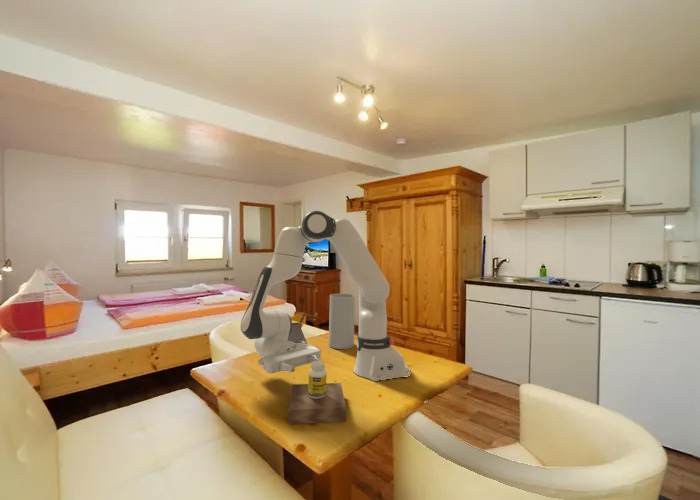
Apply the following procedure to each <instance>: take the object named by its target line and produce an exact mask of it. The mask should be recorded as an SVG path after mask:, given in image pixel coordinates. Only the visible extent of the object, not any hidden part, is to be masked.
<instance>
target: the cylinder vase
mask: <svg viewBox="0 0 700 500" xmlns="http://www.w3.org/2000/svg"><path fill="white" fill-rule="evenodd" d="M355 307H356V295H355V294H351V293H333V294H332V293H331V294H330V295H329V313H328V314H329V319H328V320H329V322H328V325H329V326H328V346H329V347H330V348H332V349H335V350H348V349H351V348H353V347H354V345H355V317H356V316H355V314H356V313H355V312H356V309H355Z"/></svg>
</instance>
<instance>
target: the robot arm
mask: <svg viewBox="0 0 700 500" xmlns="http://www.w3.org/2000/svg"><path fill="white" fill-rule="evenodd" d="M323 240H327V241H329V242H330V243H331V245H333V247H334V249H335V251H336V252H337V254H338V257H340V259H341V262H343V264H344V266H345V269H346V270H347V272H348V274H349V275H350V277H351V279H352V280H353V282H354V284H355V286H356V287H357V289H358V334H357V338H356V349H357V353H356V360H355V363H354V368H353V372H354V373H355V375H357V376H360V377H362V378H366V379H369V380H371V381H373V382H380V381H379V380H381V381H387V380H386V379H390V380H393V379H392V378H397V377H404V376H409V375H410V374H411V375H412V373H411V372H412V371H411V369H410V367H409V366H408V365H406V361H405V357H404V356H403V355H402V353H401V352H399V351H398V350H397V349H396V348H395V347H394V345H395V340H394V339H393V338H391V337H390V336H388V335H387V323H388V322H387V321H388V315H387V306H386V305H387V303H386V300H387V299H388V297H389V295H390V293H391V292H390V291H391V287H390V284H389V282H388V280H387V278H386V277H385V275H384V274H383V272H382V270H381V269H380V267H379V265H378V264H377V262H376V260H375V259H374V257H373V256H372V254H371V252H370V251H369V249H368V247H367V245H366V244H365V241H364V240H363V238H362V236H361V235H360V233H359V232H358V230H357V229H356V227H355V226H354V225H353V223H351V221H350V220H349V219H347V218H346V217H345V218H344V217H343V218H342V217H341V218H337V219H335V218H333V217H331V216H330V215H328V214H326V213H325V212H323V211H320V210H311V211H310V212H308V213H307V214H305V215H304V217H303V218H302V221H301V224H300V225H299V226H297V227H295V226H287V227H284V228H282V229H281V231H280V232H279V235H278V237H277V240H276V243H275V247H274V252H273V256H272V258H271V261H270V263H268V265H266V266H265V267H263V268H262V269H261V271H260V274H259V276H258V278H257V282H256V284H255V286H254V288H253V289H254V290H253V292H252V295H251V298H250V300H249V303H248V306H247V309H246V310H245V312H244V314H243V316H242V318H241V320H240V321H241V322H240V331H241V332H242V334H243V335H244V336H245V338H247V339H248V340H254V346H253V347H254V349H255V351H256V352H257V353H256V354H258V355H259V356H260V357H261V358H260V359H259V360H257V363H258V364H259V365H260V366H262V369H263V370H264V371H265V372H266V373H268V374H275V373H279V372H288V373H294V372H295V371H296V368H298V367H301V366H305V365H308V364H312V362H314V361H321V357H322V354H321V353H322V352H321V349H320V348H318V347H317V346H314V345H312V344H308V343H307V344H306V342H307V341H306V342H304V341H288V340H289V338H290V335H291V332H292V327H293V324H292V323H293V320H292V318H291V316H290V315H289V313H288V312H286V311H276V310H263V309H264V306H265V304H266V301H267V299H268V294H269V292H270V290H271V288H272V287H273V286H274V285H276V284H278V283H281V282H284V281H287V280H290V279H293V278H294V277H295V276H297V275H298V274H300V271H301V269H302V265H303V260H304V254H305V250H306V246H307V245H310V244H319V243H321V242H323ZM408 372H409V373H408Z"/></svg>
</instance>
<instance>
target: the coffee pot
mask: <svg viewBox="0 0 700 500" xmlns="http://www.w3.org/2000/svg"><path fill="white" fill-rule="evenodd" d="M305 317H306V312H304V313H302V316H301V317H300V320H299V322H292V324H293V327H292V332H291V335H290V338H289V340H288V341H304V342H306V344H308V342H307V339H306V337H305V335H304V332H303V330H302V327H303V326H304V323H303V320H304V318H305Z"/></svg>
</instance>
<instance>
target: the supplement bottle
mask: <svg viewBox="0 0 700 500" xmlns="http://www.w3.org/2000/svg"><path fill="white" fill-rule="evenodd" d="M310 364H311V365H310V366H311V369H309V371H308V383H307V384H308V395H309V397H311V398H314V399H319V398H323V397H324V396H325V395H326V383H327V370H326V369H325V368H326V367H325V365H326V364H325V362H324V361H322V360H319V361H314V362H312V363H310Z"/></svg>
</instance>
